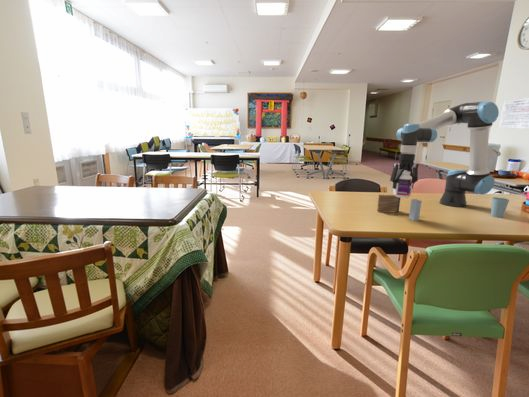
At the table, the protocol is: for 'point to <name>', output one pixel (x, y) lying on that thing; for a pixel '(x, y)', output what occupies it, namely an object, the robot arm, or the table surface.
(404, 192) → the pill bottle
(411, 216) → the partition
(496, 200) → the cup
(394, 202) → the door
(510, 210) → the table surface
